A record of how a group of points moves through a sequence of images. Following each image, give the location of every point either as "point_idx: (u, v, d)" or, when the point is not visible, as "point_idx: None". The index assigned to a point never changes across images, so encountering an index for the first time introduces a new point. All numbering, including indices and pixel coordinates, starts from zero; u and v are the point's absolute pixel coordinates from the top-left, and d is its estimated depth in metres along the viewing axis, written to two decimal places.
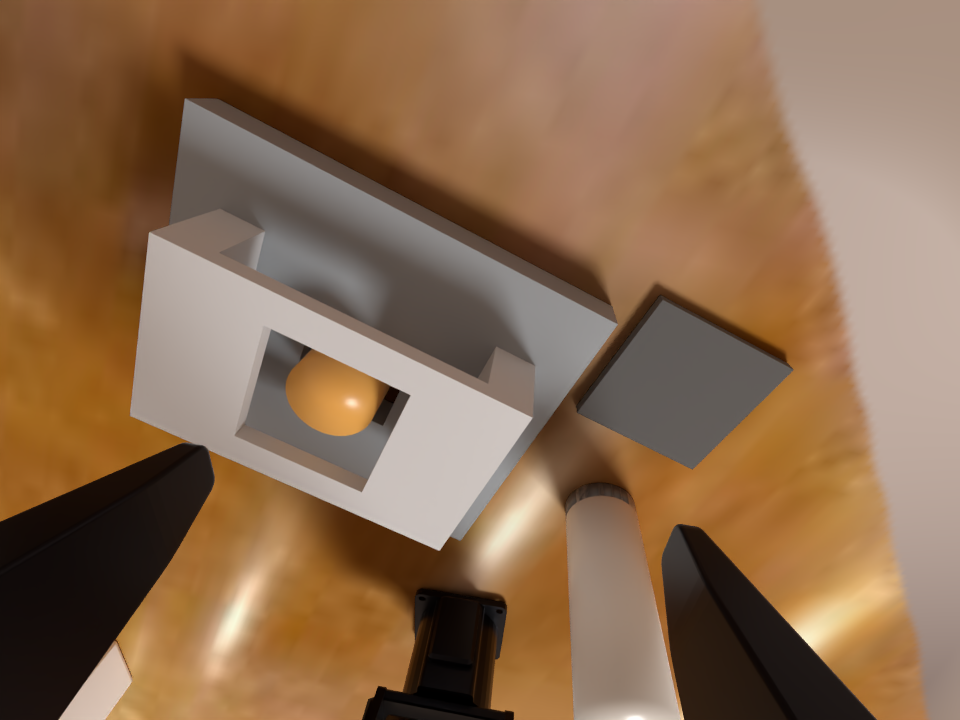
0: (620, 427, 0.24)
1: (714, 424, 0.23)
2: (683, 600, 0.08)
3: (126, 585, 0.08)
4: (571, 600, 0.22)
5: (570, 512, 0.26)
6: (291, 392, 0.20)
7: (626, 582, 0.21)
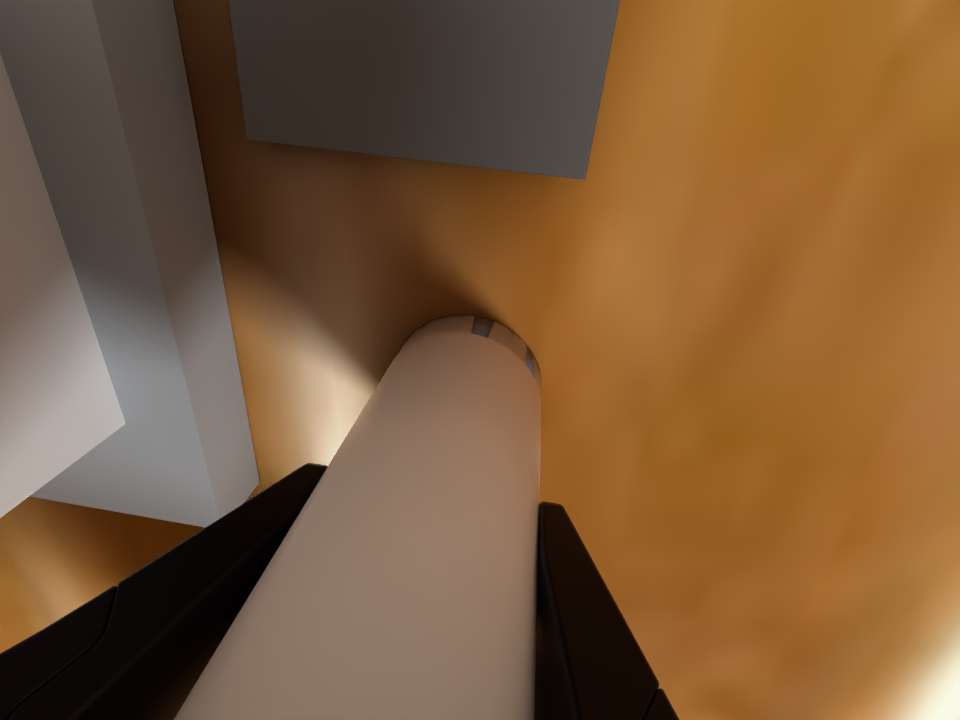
0: (355, 133, 0.09)
1: None
2: None
3: None
4: None
5: None
6: None
7: (364, 500, 0.06)
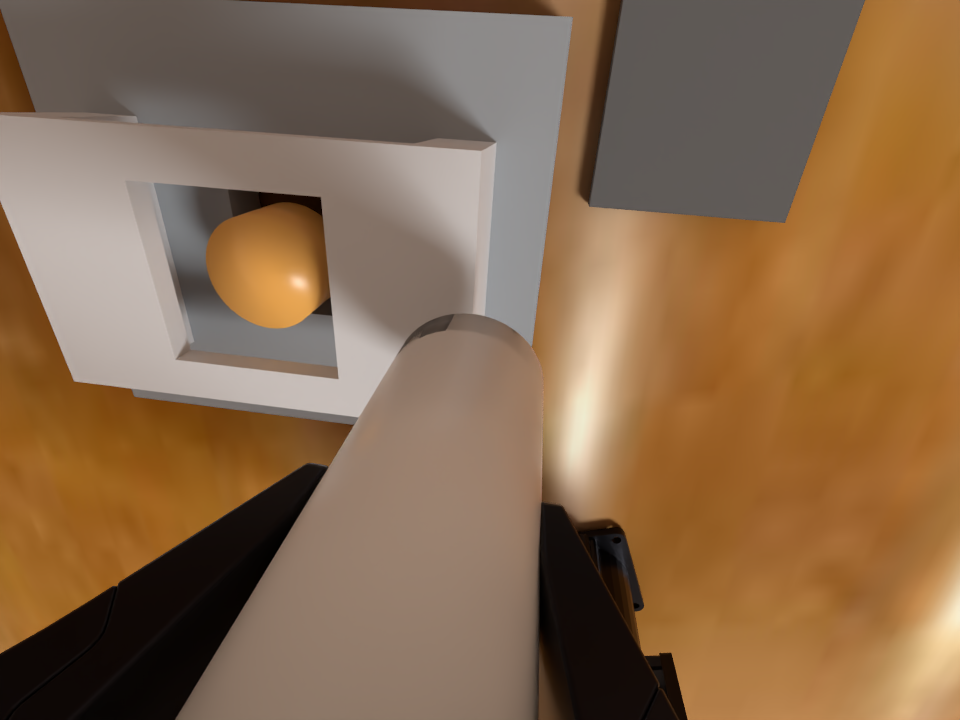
0: (655, 202, 0.17)
1: (786, 133, 0.16)
2: None
3: None
4: None
5: None
6: (220, 287, 0.16)
7: (367, 498, 0.06)
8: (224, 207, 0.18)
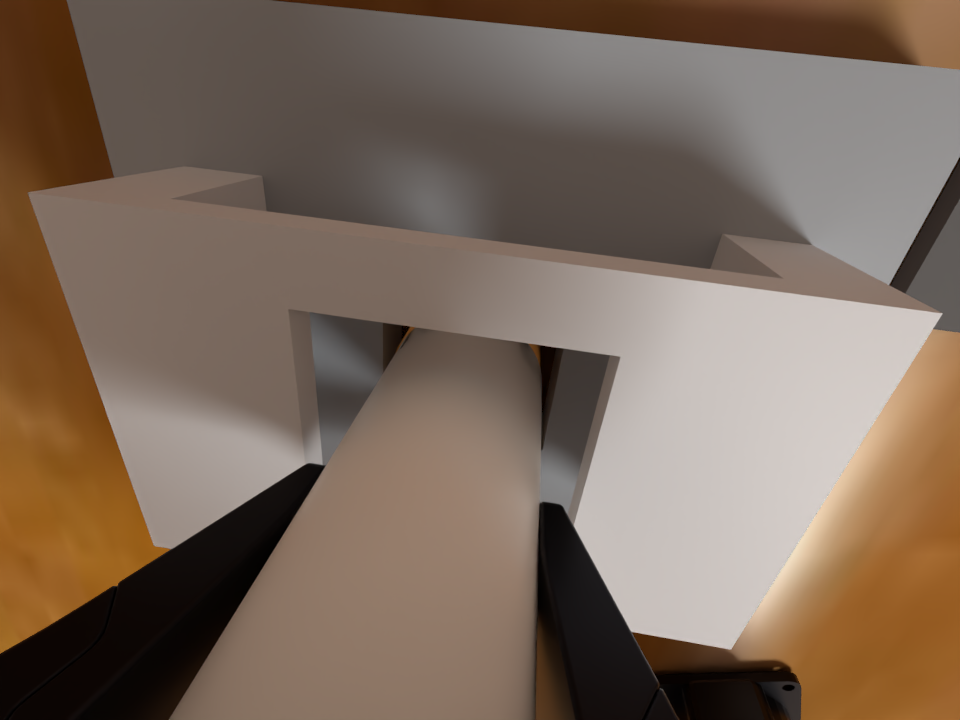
0: None
1: None
2: None
3: None
4: None
5: None
6: None
7: (364, 496, 0.06)
8: None
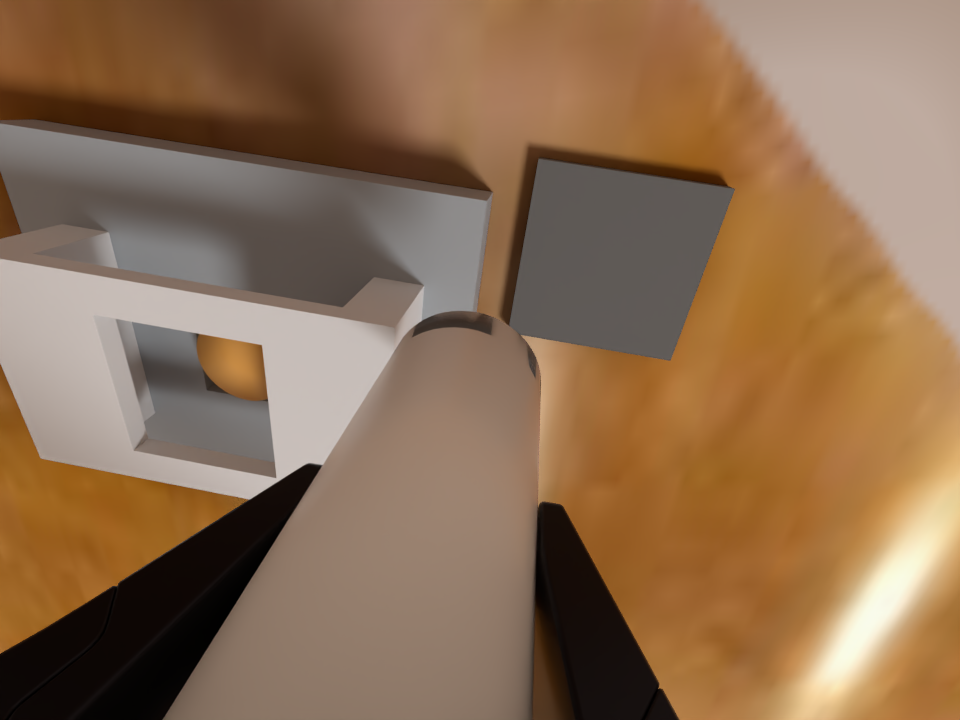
0: (563, 334, 0.20)
1: (670, 294, 0.19)
2: None
3: None
4: None
5: None
6: (207, 367, 0.20)
7: (361, 494, 0.06)
8: None
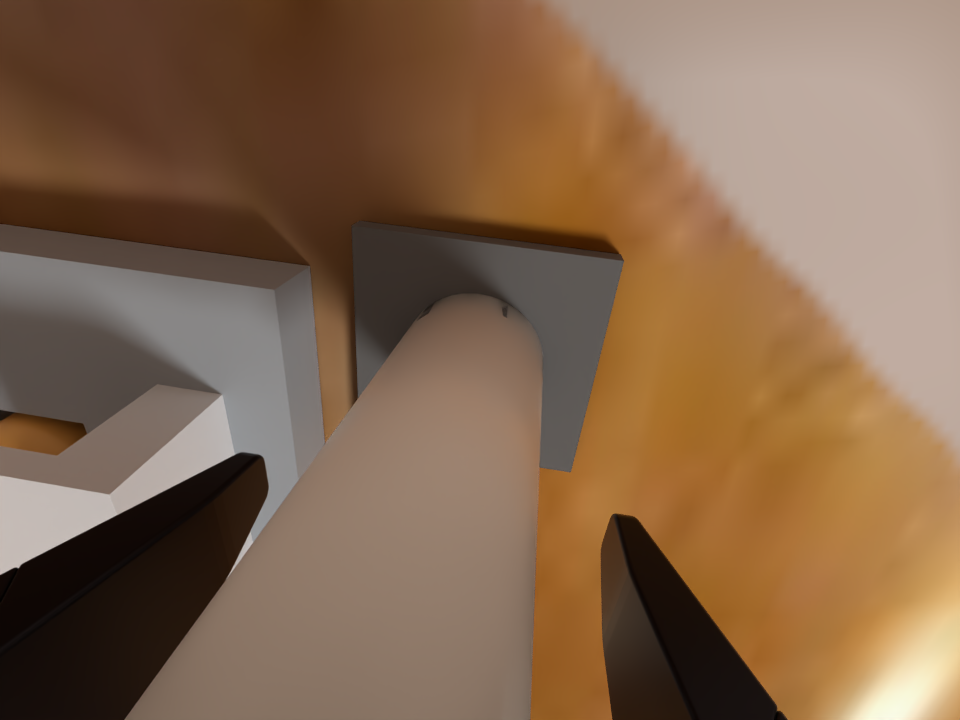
0: None
1: (557, 394, 0.14)
2: (613, 588, 0.08)
3: (192, 597, 0.07)
4: None
5: None
6: None
7: (385, 422, 0.07)
8: None
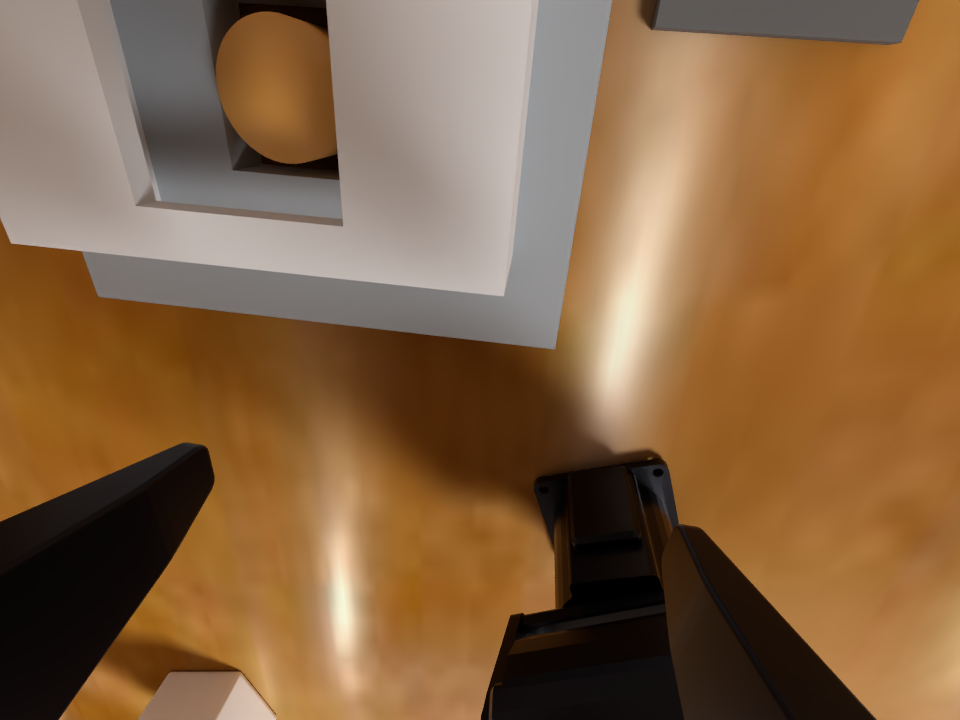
0: (739, 17, 0.14)
1: None
2: (683, 600, 0.08)
3: (126, 585, 0.08)
4: None
5: None
6: (232, 111, 0.15)
7: None
8: (198, 28, 0.14)
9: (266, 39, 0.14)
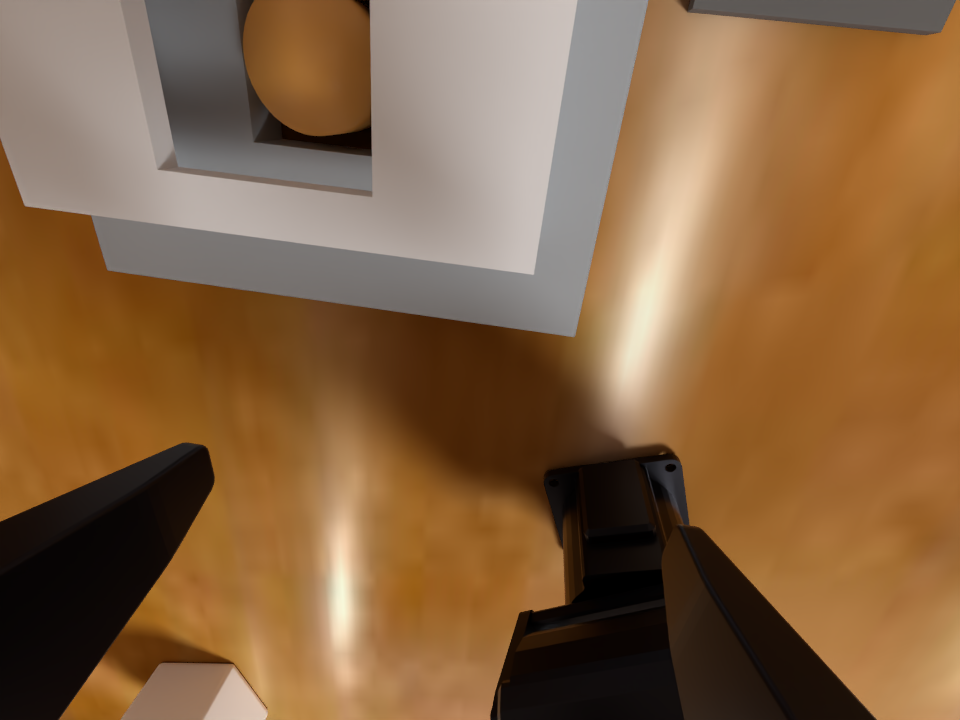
0: (778, 1, 0.14)
1: None
2: (683, 600, 0.08)
3: (126, 585, 0.08)
4: None
5: None
6: (257, 79, 0.14)
7: None
8: None
9: (297, 5, 0.13)
